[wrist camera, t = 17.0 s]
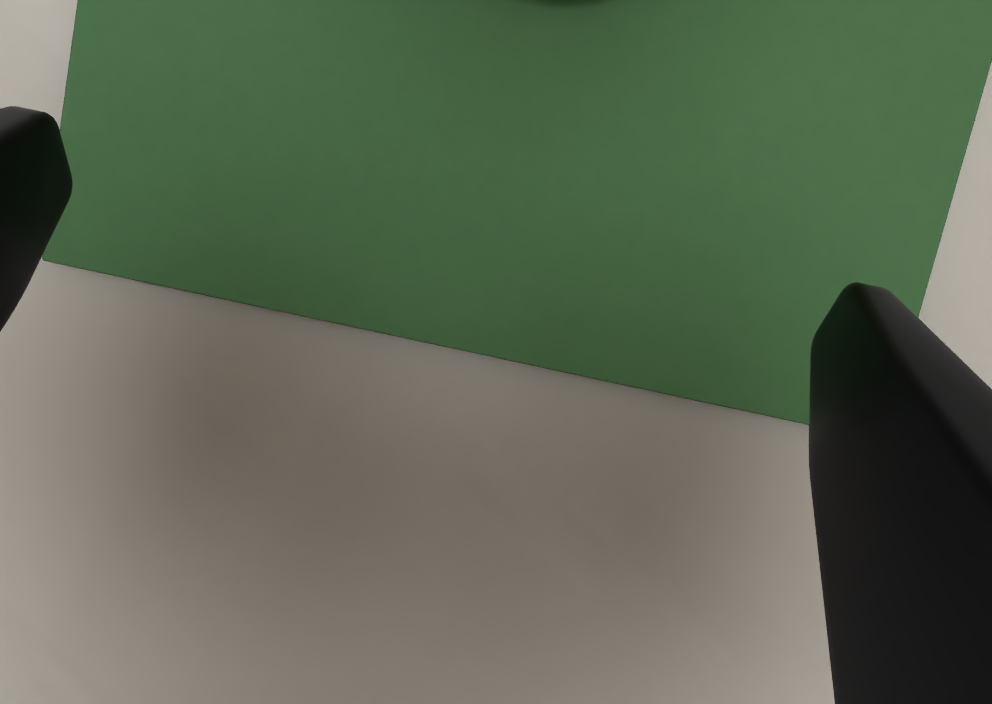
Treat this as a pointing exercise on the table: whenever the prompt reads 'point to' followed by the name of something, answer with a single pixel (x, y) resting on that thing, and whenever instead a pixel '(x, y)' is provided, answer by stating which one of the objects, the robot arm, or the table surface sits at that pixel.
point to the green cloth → (530, 170)
